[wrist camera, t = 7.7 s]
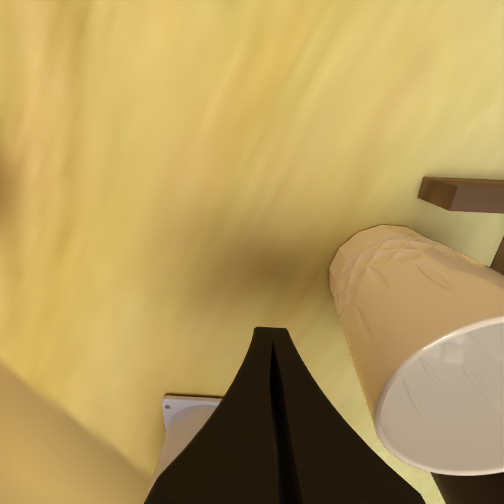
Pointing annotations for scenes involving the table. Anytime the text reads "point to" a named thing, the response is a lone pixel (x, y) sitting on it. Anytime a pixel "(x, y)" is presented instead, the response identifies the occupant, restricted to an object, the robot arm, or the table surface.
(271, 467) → the robot arm
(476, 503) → the bottle
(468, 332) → the beige tapered cylinder
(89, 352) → the table surface
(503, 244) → the holder
